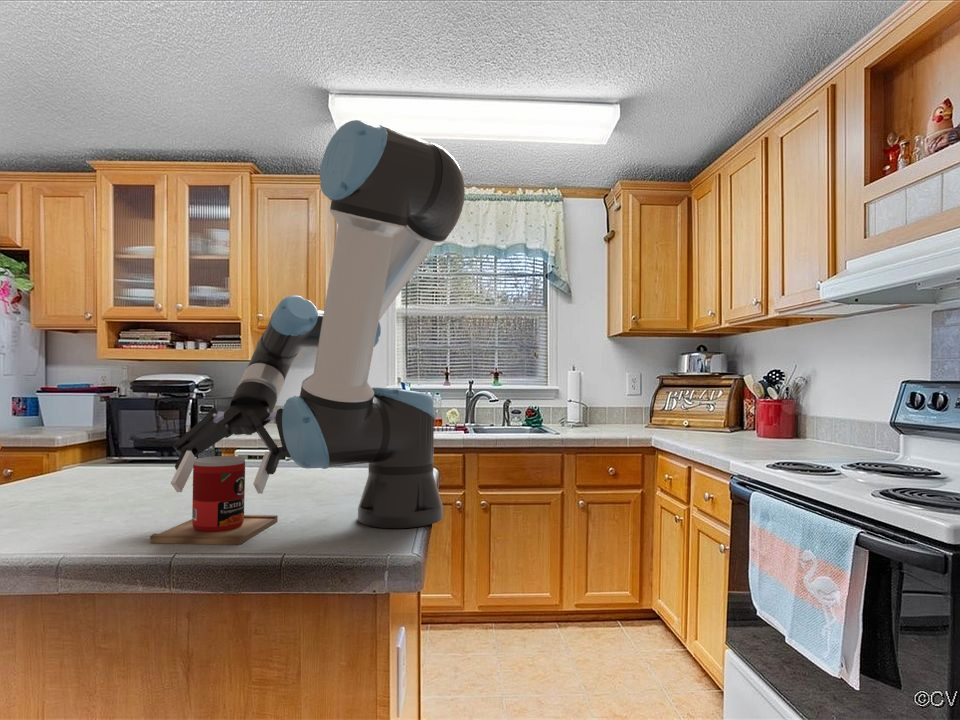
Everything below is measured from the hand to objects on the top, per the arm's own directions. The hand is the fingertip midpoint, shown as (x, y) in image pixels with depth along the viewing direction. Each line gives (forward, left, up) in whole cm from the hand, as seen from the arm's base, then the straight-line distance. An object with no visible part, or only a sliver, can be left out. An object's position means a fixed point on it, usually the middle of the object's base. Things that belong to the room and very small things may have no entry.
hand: (216, 488), depth 93 cm
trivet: (0, -1, -7) cm, 7 cm away
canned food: (0, -1, -7) cm, 7 cm away
